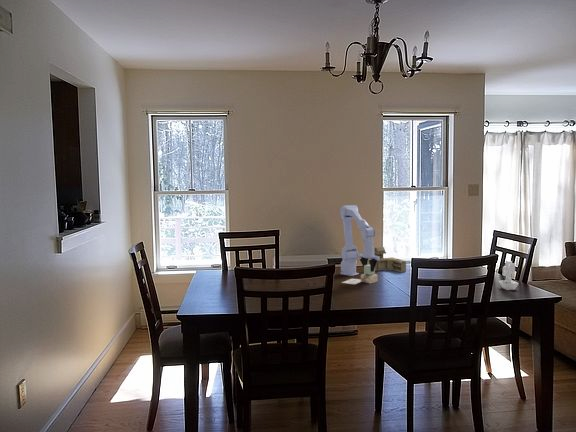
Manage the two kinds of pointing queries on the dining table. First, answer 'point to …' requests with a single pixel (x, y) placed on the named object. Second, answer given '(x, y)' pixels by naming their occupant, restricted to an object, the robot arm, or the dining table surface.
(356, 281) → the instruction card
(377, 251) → the toy kitchen set
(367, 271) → the sage cube
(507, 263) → the figurine
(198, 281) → the dining table surface
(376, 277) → the beech base
